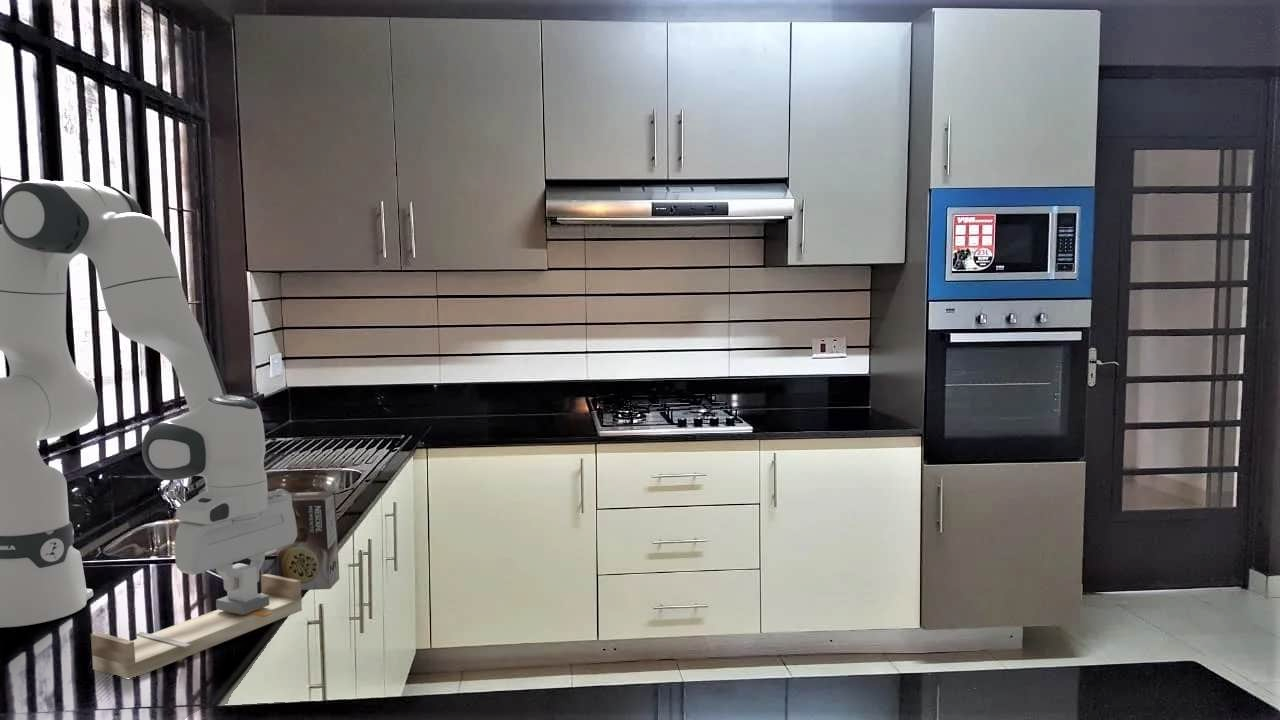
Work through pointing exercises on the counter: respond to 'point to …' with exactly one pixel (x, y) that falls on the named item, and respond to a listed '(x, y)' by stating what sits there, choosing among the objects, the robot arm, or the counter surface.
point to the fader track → (192, 633)
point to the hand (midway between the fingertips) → (241, 586)
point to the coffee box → (312, 542)
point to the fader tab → (243, 592)
